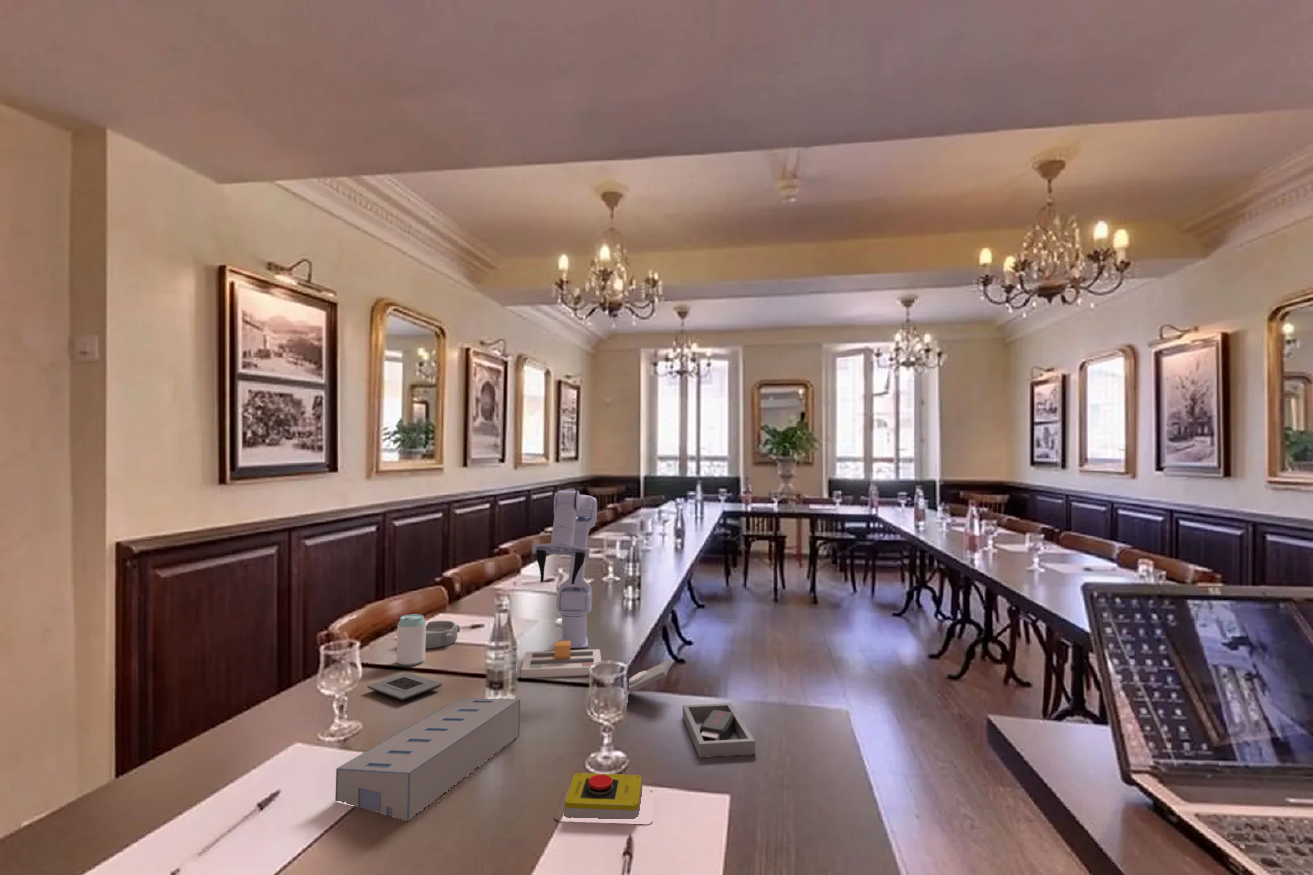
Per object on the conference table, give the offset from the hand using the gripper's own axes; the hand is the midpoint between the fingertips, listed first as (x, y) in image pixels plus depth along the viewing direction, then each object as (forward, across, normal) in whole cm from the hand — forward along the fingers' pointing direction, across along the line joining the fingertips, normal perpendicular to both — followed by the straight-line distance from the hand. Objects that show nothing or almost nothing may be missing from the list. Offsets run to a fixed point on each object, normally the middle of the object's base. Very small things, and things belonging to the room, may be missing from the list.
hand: (557, 581), depth 151 cm
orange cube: (+14, +3, +18) cm, 23 cm away
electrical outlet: (+26, -32, +10) cm, 43 cm away
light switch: (+26, +22, 0) cm, 34 cm away
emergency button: (+50, +13, -36) cm, 63 cm away
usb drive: (+36, +35, -18) cm, 53 cm away
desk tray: (+36, +35, -18) cm, 53 cm away
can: (+15, -36, +28) cm, 48 cm away
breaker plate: (+16, +3, +20) cm, 25 cm away
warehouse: (+44, -16, -21) cm, 51 cm away
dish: (+6, -35, +42) cm, 55 cm away
